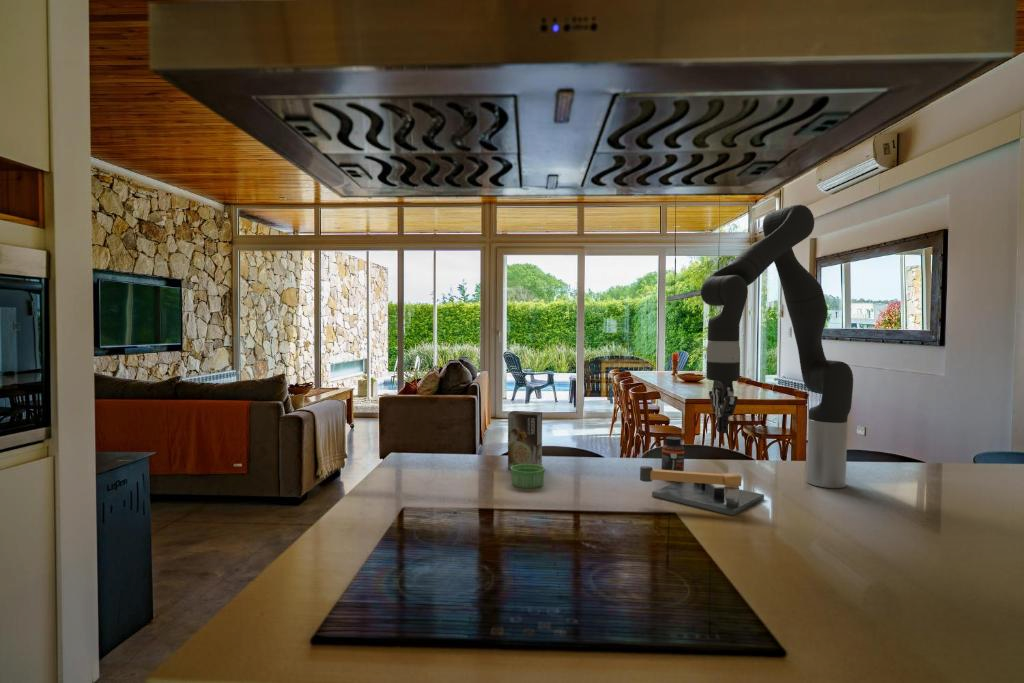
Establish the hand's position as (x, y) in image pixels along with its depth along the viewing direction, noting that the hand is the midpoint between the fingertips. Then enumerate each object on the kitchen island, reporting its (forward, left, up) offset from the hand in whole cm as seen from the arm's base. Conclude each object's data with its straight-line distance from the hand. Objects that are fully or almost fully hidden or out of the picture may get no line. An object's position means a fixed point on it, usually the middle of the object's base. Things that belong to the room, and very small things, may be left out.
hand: (722, 432), depth 139 cm
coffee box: (+10, -54, -17) cm, 58 cm away
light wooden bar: (+9, -3, -11) cm, 15 cm away
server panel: (0, -3, -16) cm, 17 cm away
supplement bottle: (-10, -18, -17) cm, 27 cm away
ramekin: (+23, -42, -17) cm, 50 cm away
